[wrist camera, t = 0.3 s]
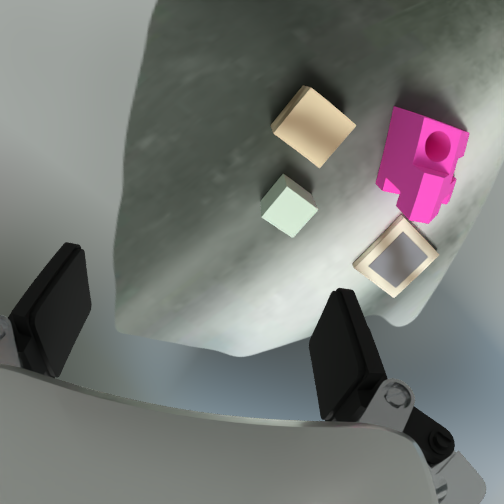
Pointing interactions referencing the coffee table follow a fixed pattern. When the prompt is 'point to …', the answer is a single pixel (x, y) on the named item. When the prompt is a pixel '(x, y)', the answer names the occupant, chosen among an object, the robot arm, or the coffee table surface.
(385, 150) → the bracket
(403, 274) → the birch board
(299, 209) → the sage cube
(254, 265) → the coffee table surface
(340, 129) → the oak block
